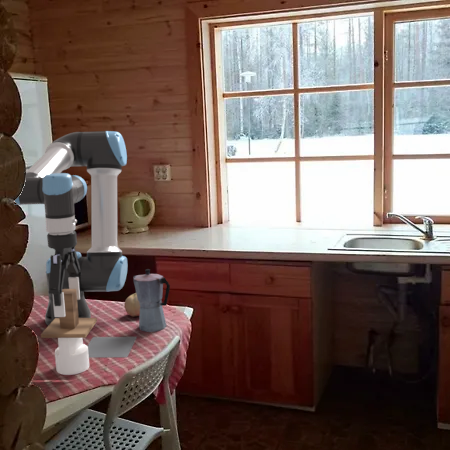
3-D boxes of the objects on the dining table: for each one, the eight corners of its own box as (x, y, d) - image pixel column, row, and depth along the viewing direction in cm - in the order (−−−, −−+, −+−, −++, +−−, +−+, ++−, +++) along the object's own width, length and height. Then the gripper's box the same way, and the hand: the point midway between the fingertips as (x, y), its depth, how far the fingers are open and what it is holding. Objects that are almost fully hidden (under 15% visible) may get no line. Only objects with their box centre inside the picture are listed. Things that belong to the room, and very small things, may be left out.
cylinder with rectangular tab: (81, 377, 159) (77, 336, 157) (50, 375, 161) (46, 334, 159) (94, 363, 168) (91, 324, 166) (65, 361, 170) (62, 322, 167)
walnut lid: (55, 321, 168) (52, 284, 166) (97, 321, 168) (94, 284, 165) (41, 337, 157) (37, 298, 154) (85, 337, 156) (82, 298, 154)
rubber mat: (93, 338, 186) (93, 337, 185) (137, 338, 185) (137, 336, 185) (79, 359, 171) (79, 357, 171) (127, 359, 170) (127, 357, 170)
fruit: (127, 311, 209) (126, 290, 208) (150, 311, 209) (148, 289, 207) (123, 319, 201) (121, 297, 200) (146, 319, 201) (145, 297, 199)
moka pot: (144, 319, 201) (141, 263, 197) (181, 327, 193) (179, 268, 189) (126, 329, 193) (122, 270, 189) (164, 337, 185) (161, 276, 181)
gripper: (60, 242, 144) (67, 324, 148) (88, 222, 168) (93, 292, 173) (30, 243, 144) (38, 324, 149) (62, 222, 169) (68, 293, 173)
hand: (67, 307), depth 161 cm, fingers open, 13 cm apart
